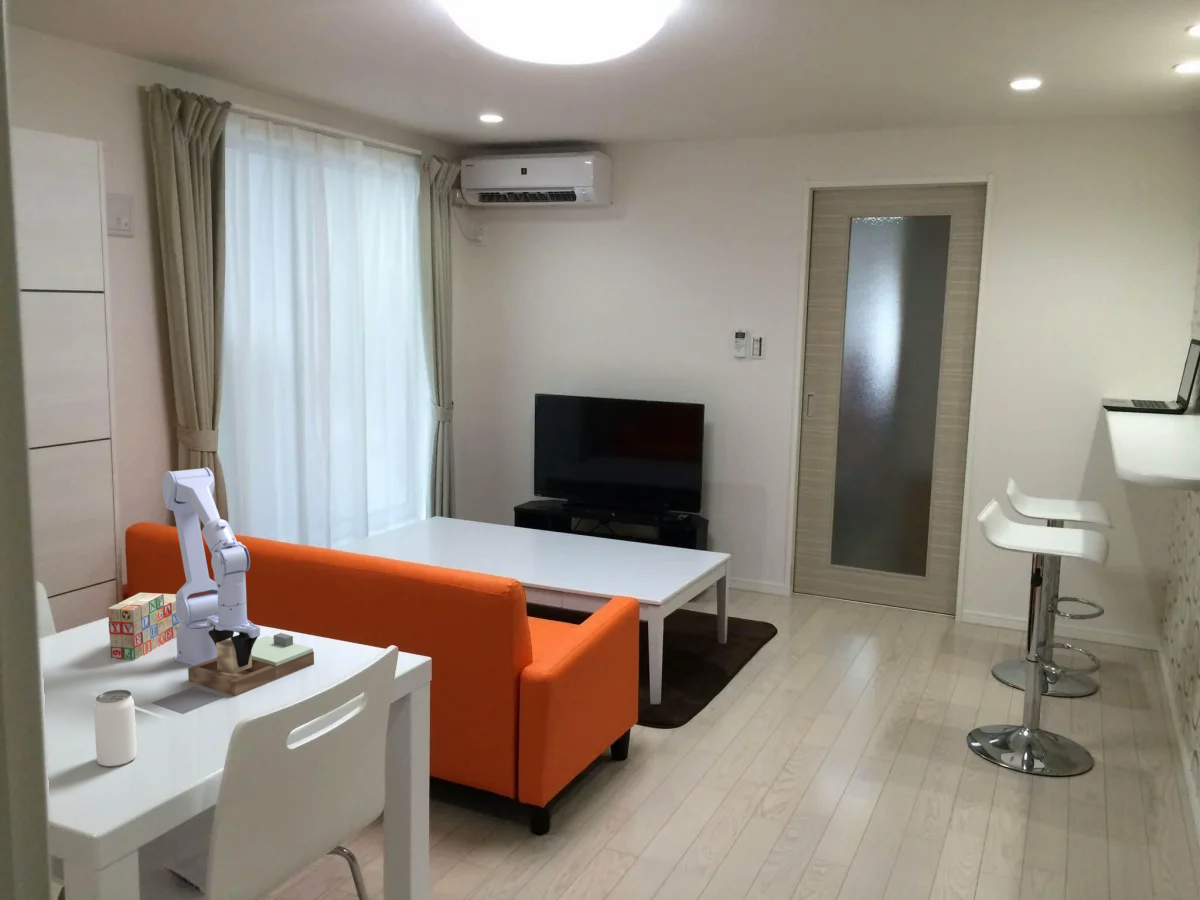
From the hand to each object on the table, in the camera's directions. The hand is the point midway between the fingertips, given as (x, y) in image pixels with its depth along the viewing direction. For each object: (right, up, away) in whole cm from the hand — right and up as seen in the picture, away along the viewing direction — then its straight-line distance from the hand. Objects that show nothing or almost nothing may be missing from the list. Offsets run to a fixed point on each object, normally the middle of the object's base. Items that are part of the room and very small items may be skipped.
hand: (234, 662), depth 209 cm
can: (-7, -10, -36) cm, 38 cm away
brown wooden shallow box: (+2, -4, +4) cm, 6 cm away
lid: (+5, +1, +9) cm, 10 cm away
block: (0, -1, 0) cm, 1 cm away
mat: (-5, -6, -11) cm, 13 cm away
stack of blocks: (-29, -1, +23) cm, 37 cm away
